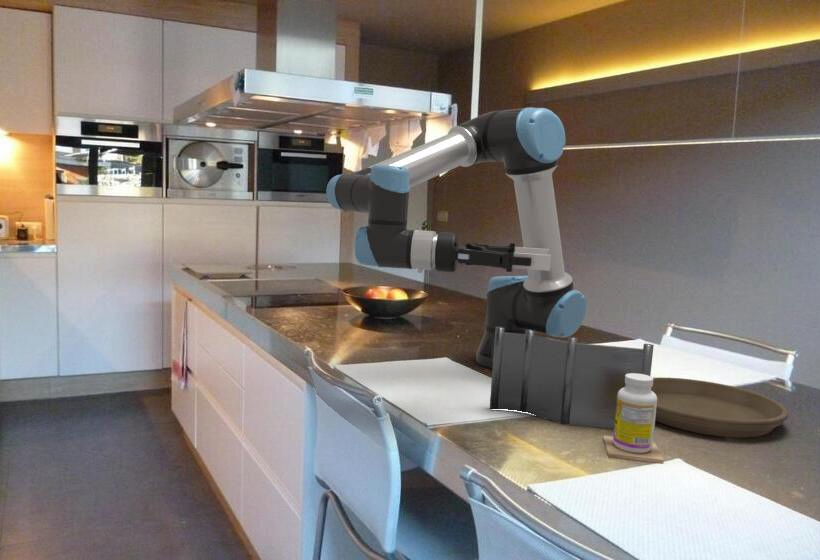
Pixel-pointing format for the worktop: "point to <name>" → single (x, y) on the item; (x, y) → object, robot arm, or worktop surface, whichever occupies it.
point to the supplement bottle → (635, 414)
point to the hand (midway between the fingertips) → (549, 259)
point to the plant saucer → (715, 408)
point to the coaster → (618, 453)
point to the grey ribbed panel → (562, 377)
